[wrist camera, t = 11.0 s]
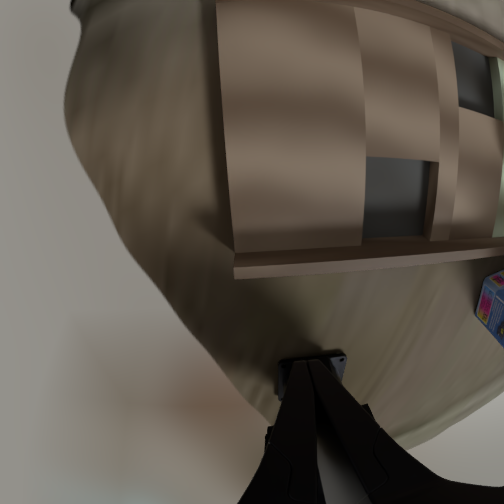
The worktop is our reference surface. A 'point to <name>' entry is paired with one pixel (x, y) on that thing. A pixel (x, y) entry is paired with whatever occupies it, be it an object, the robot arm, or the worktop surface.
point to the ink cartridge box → (492, 305)
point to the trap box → (359, 135)
